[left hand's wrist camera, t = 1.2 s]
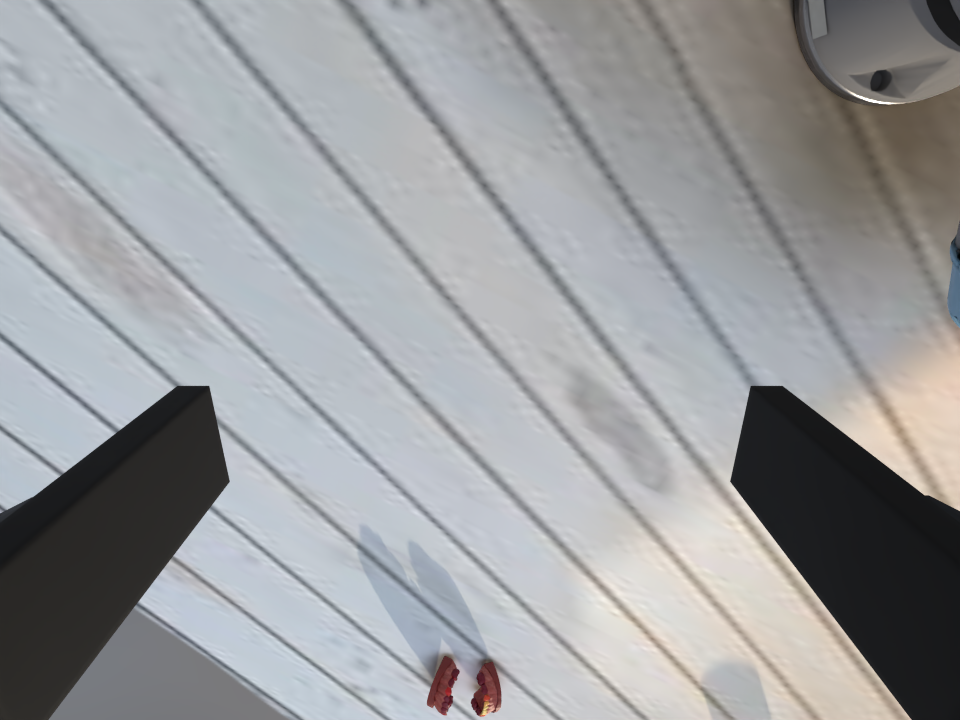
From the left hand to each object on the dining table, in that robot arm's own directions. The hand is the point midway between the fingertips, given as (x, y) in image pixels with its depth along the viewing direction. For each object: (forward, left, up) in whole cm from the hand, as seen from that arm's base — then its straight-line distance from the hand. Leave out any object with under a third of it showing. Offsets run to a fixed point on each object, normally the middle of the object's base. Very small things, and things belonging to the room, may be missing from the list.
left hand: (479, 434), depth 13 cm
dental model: (+24, +43, -30) cm, 57 cm away
